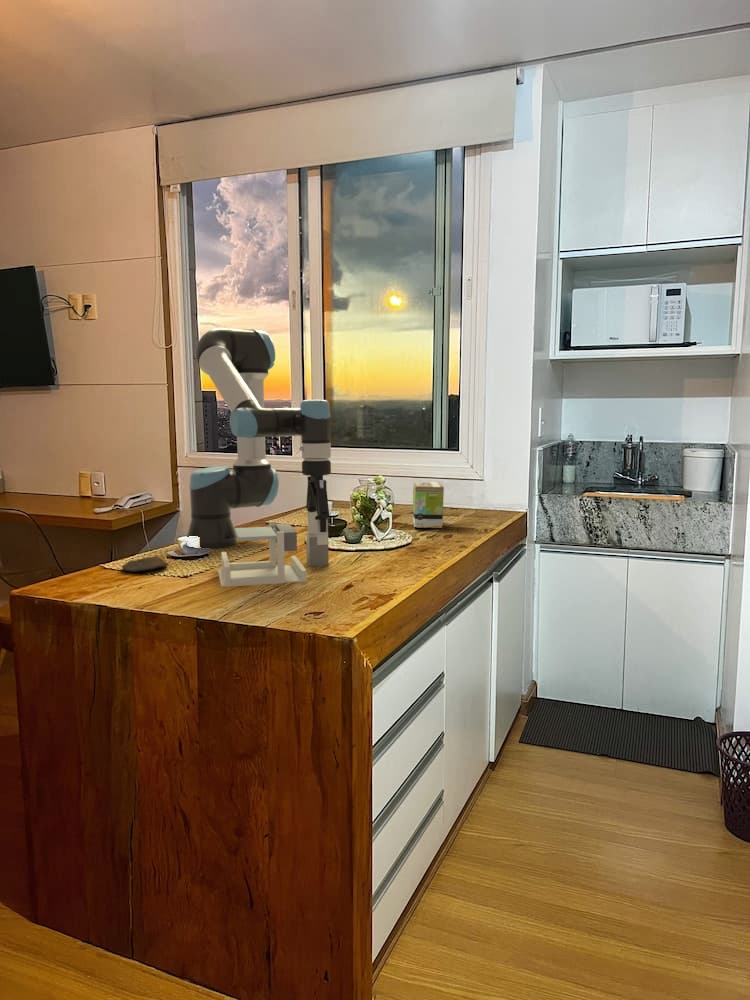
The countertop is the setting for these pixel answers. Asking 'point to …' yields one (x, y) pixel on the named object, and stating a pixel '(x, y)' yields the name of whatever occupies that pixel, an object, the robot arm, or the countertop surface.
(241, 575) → the frame
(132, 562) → the rock
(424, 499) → the tea box
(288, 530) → the trapdoor
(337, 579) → the countertop surface
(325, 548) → the gray rectangular block
